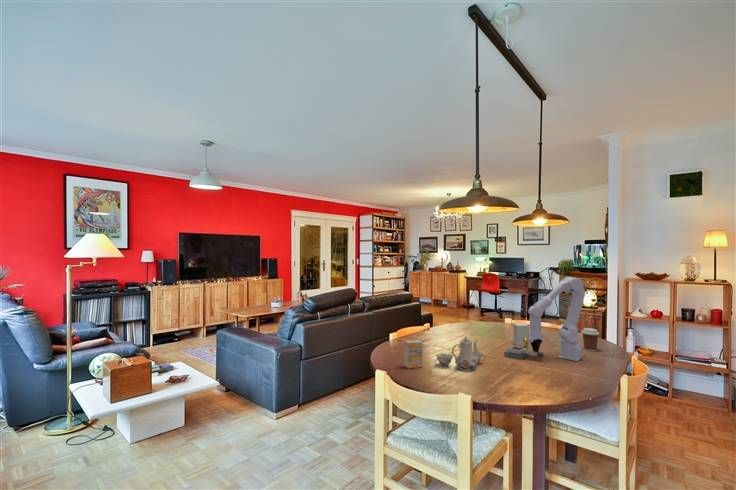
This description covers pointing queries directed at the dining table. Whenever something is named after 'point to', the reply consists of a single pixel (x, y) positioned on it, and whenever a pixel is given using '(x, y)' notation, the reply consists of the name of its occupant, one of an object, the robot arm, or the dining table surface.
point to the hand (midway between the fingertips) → (535, 352)
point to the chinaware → (462, 356)
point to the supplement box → (413, 354)
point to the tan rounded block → (525, 343)
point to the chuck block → (516, 355)
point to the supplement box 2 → (520, 333)
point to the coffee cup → (590, 339)
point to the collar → (524, 351)
